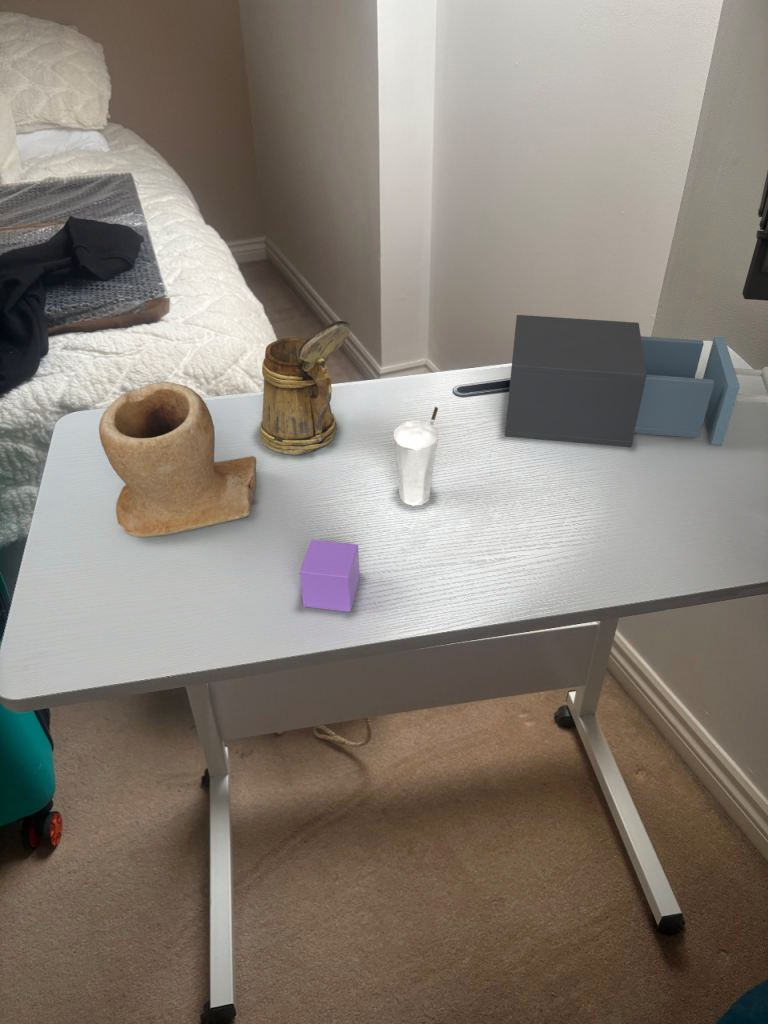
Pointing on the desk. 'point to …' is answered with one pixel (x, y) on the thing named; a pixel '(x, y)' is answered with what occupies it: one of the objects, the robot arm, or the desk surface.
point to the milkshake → (415, 459)
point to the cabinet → (575, 380)
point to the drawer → (690, 388)
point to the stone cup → (171, 463)
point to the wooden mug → (300, 391)
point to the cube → (330, 575)
